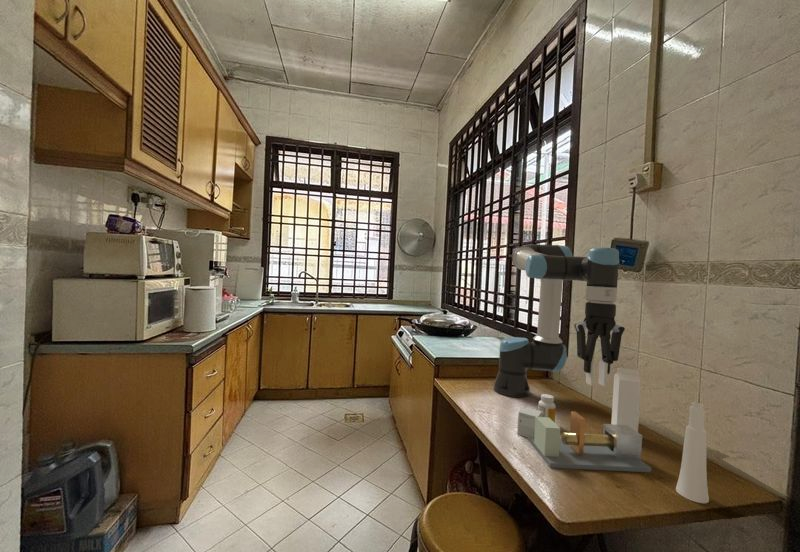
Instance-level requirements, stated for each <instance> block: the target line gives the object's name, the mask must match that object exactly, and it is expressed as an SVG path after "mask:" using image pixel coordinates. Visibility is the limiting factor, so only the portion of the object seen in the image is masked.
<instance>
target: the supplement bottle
mask: <svg viewBox="0 0 800 552" xmlns="http://www.w3.org/2000/svg"><path fill="white" fill-rule="evenodd" d="M554 399H555V398H554V396H553V395H551V394H546V393H542V394H541V395H540V400H539V401H538V405H537V406H538V407H537V410H538V411H542V417H549V418H550V419H551V420H552V421H553V422H554V423H555V421H556V408H557V407H556V403H554V401H555V400H554ZM555 424H556V423H555Z"/></svg>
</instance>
